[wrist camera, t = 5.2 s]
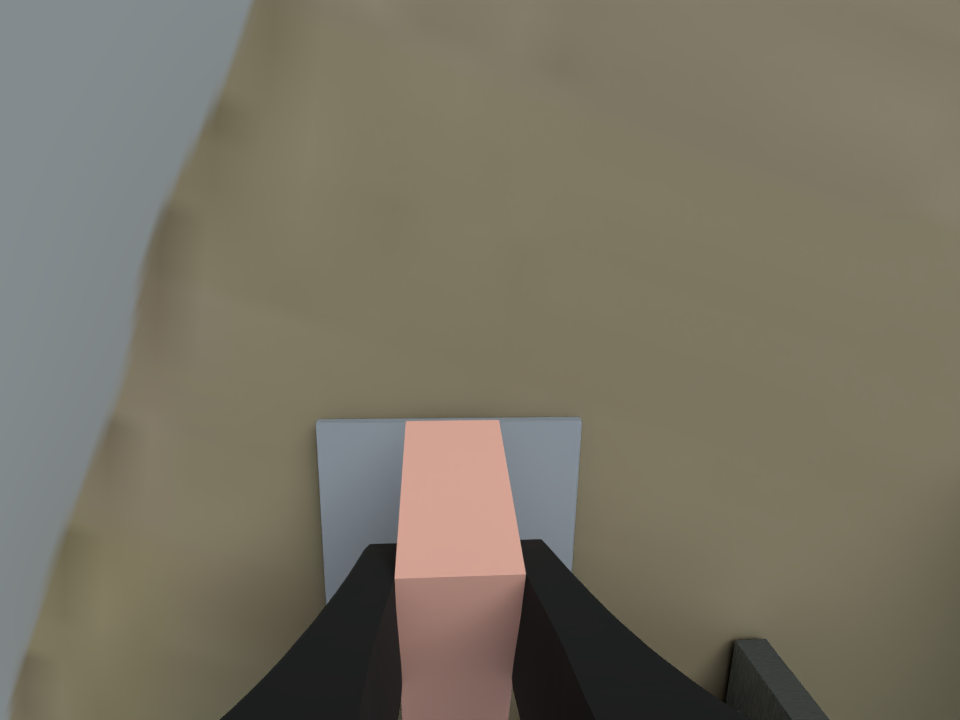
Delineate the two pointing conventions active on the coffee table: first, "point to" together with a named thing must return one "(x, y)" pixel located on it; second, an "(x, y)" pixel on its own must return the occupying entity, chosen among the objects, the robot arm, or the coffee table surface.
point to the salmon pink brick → (457, 572)
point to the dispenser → (767, 685)
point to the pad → (378, 474)
